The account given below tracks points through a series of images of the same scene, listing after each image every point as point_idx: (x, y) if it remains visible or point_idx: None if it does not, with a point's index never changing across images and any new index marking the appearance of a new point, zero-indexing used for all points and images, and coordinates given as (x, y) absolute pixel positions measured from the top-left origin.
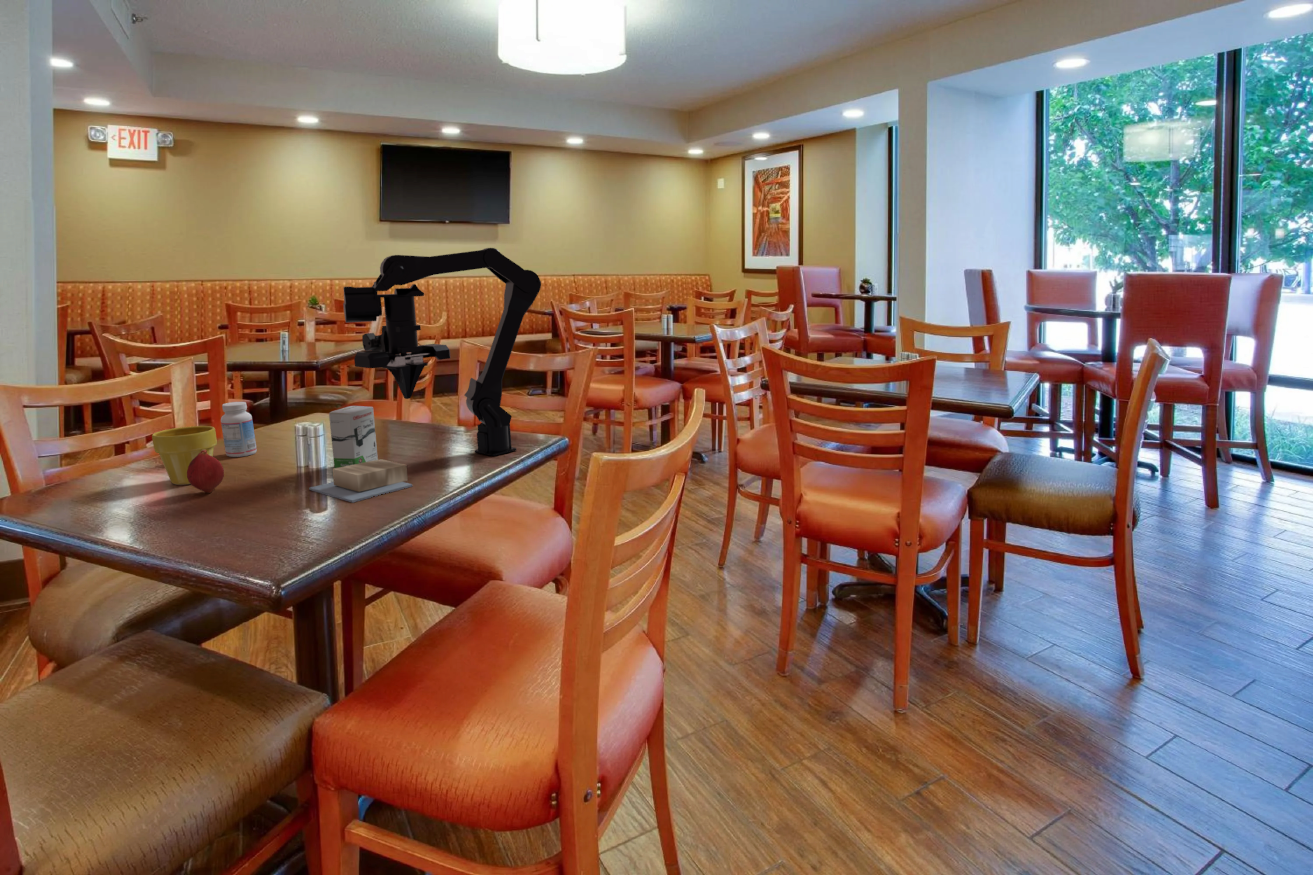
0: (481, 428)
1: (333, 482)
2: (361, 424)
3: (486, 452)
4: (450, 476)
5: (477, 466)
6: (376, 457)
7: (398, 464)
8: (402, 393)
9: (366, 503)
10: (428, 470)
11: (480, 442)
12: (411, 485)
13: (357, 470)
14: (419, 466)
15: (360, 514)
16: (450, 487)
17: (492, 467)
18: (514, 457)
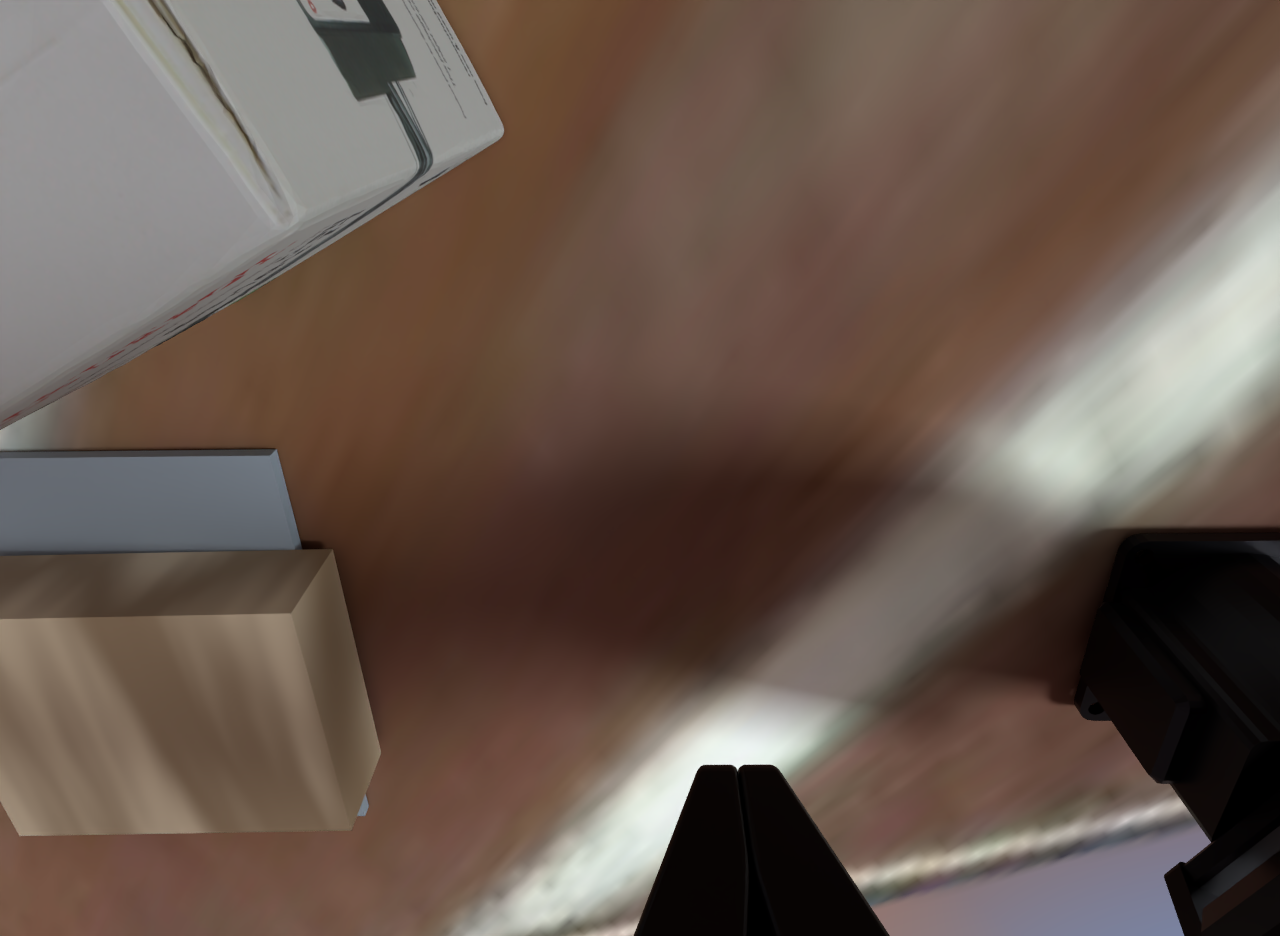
0: (1215, 767)
1: (6, 471)
2: (109, 366)
3: (1083, 675)
4: (605, 809)
5: (835, 776)
6: (476, 153)
7: (315, 798)
8: (670, 849)
9: (94, 847)
10: (608, 641)
11: (1126, 681)
12: (361, 810)
13: (47, 755)
14: (635, 523)
15: (35, 925)
16: (488, 920)
17: (859, 840)
18: (1108, 791)
